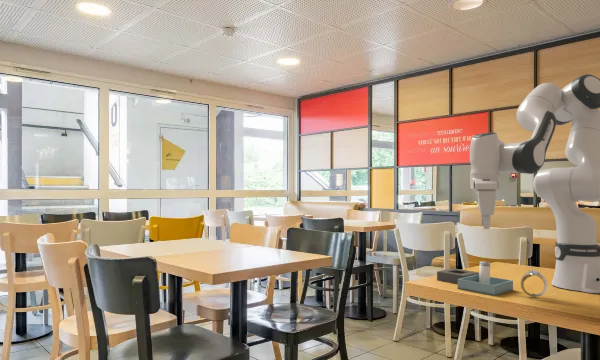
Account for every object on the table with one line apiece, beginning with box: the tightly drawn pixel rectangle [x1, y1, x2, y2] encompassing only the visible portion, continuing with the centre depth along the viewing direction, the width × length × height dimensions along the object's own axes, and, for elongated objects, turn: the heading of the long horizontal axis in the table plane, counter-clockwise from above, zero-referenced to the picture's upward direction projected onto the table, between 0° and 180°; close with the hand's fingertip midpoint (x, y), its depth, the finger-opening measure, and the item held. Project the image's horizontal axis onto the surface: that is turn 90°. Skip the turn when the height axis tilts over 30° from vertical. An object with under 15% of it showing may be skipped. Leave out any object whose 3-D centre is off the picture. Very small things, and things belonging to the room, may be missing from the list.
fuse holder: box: [436, 267, 479, 285], centre depth 155 cm, size 10×10×3 cm
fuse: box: [478, 260, 491, 284], centre depth 142 cm, size 3×3×8 cm
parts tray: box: [457, 275, 514, 297], centre depth 141 cm, size 12×12×3 cm
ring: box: [520, 269, 548, 298], centre depth 131 cm, size 7×3×8 cm, turn 68°
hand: (485, 227), depth 142 cm, fingers open, 8 cm apart
